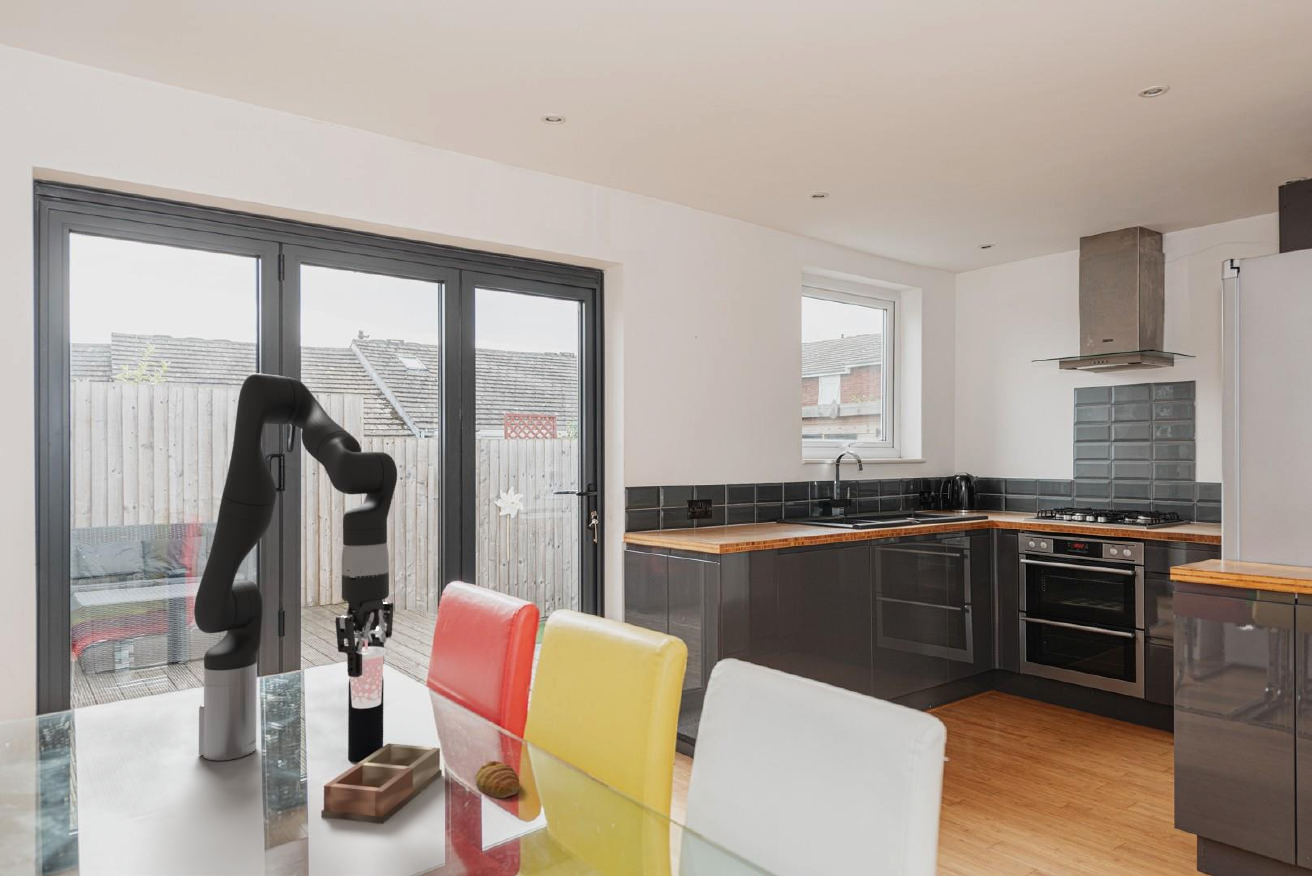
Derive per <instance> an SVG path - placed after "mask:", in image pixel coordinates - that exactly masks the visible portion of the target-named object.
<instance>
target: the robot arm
mask: <svg viewBox="0 0 1312 876" xmlns="http://www.w3.org/2000/svg"><path fill="white" fill-rule="evenodd" d="M265 424H268V425H269V424H270V425H281V426H282V425H292V426H295V427H297V428H299V429H300V430H301V442H302V445H303V446H304V448H305V450H306V451H307V453H308V454H309V455H311V457H313V458H314V459H315V460H316V461H317V462H319V463H320V465H322V466H323V467H324V470H325V472H326V474H327V476H328V478H329V480H330V483H331V485H332V486H333V488H334V489H335V490H337V491H338V492H340V493H342V494H346V495H365V497H364V498H365V499H364V501H363V502H362V505H359V506H358V507H355V508H352V509H348V510H347V511H346V512H345V513H344V514H343V519H342V543H343V544H342V553H341V599H342V600H343V601H344V602H346V603H347V604H348V606H347V612H346V614H345V615H342V616H340V615H337V616H336V617H335V619H334V620H335V632H336V644H337V651H338V653H344V654H346V656H347V662H346V664H347V676H348V677H349V678H350V677H359V676H361V675H362V653H361V652H362V648H363V643H364V641H365V640H367V638H368V636H369V639H370V642H371V643H373V644H370V647H371V646H374V647H384V648H385V644H387V640H388V639H387V638H392V635H393V624H394V623H393V621H394V603H393V602H387V601H386V602H383V600H385V599H387V598H388V597H390V557H389V555H390V553H389V549H388V516H389V513H390V508H391V504H392V501H393V496H394V494H395V493H394V492H395V490H396V485H397V480H398V468H397V464H396V463H395V460H394V459H393V457H391V455H390V454H388V453H387V452H383V451H382V452H381V451H370V452H369V451H363V452H362V447H361V444H360V442H359V441H358V440H357V439H356V438H355V437H354V436H353V435H351V434H350V432H349V431H347V430H345V429H344V428H343V427H342V426H340V424H338V423H337V422H336V421H334V419H332V418H331V417H330V416H329V414H328V413H327V412H326V410H325V409H324V407H323V406H322V405H321V404H320V402H318V400H317V399H316V397H315V396H314V395H313V394H312V392H311V391H310V390H309V388H308V387H307V386H306V385H305V384H304V383H303V382H302V381H300V380H299V379H297V378H294V377H290V376H283V375H277V374H268V373H258V372H257V373H254V372H253V373H251V374H249V375H247V377H246V378H245V379H244V381H243V383H242V385H241V388H240V391H239V395H238V401H237V408H236V418H235V425H234V433H233V437H234V438H233V443H232V450H231V454H230V460H229V466H228V469H227V474H226V479H225V482H224V486H223V487H224V488H223V492H222V495H221V500H220V505H219V510H218V516H217V522H216V526H215V531H214V535H213V539H212V544H211V549H210V552H209V556H208V558H207V562H206V565H205V569H204V571H203V574H202V577H201V581H200V583H199V585H198V589H197V593H196V597H195V601H194V606H193V607H194V611H193V613H194V614H193V615H194V620H195V621H194V622H195V624H196V626H197V628H198V629H199V630H200V631H201V632H203V633H205V634H217V633H223V632H226V634H225V636H224V637H223V638H222V639H221V640H220V641H219V642H218V643H216V644H215V645H213V646H212V647H211V648H209V649H208V650H207V651H206V652H205V654H204V658H203V704H201V705H200V706H199V708H198V756H199V755H203V756H202V758H204V759H205V760H209V761H218V762H219V761H220V762H221V761H229V760H230V761H231V760H235V759H240V758H242V757H245V755H246V756H248V755H250V753H251V754H252V753H254V752H255V751H256V750H255V749H257V704H258V703H257V696H258V695H257V694H258V693H257V690H258V689H257V688H258V687H257V684H258V676H257V672H258V670H257V668H258V667H257V665H258V662H257V661H258V652H259V650H260V647H261V643H262V642H261V641H262V627H263V609H264V608H263V607H264V606H263V597H262V594H261V593H262V592H261V590H260V588H259V586H258V585H257V584H256V583H255V582H253V581H251V580H248V579H246V580H245V579H242V580H236V581H235V579H236V576H237V572H238V571H239V568H240V567H241V565H242V563H243V561H244V560H245V558H247V556H248V555H249V553H250V552H251V551H252V550H253V549H254V548H255V547H256V546H257V544H258V543H259V541H260V540H261V539H262V537H263V536H264V534H265V533H266V531H267V530H268V528H269V527H270V525H271V521H272V518H273V513H274V510H275V503H276V501H277V500H276V499H277V486H276V483H275V480H274V478H273V475H272V473H271V471H270V468H269V467H268V465H267V463H266V460H265V457H264V454H263V449H262V438H263V437H262V436H263V430H264V426H265ZM358 633H360V634H358ZM345 640H346V641H345ZM356 642H357V645H356ZM384 665H385V658H384V659H383V666H384ZM253 751H254V752H253Z"/></svg>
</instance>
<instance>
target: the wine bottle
mask: <svg viewBox="0 0 1312 876" xmlns="http://www.w3.org/2000/svg"><path fill="white" fill-rule="evenodd" d="M357 634H360V633H357ZM370 644H373V643H371V642H370V639H369V636H368V647H370ZM356 645H357V641H355V646H356ZM363 647H365V641H364V643H363ZM384 680H385V679H384V676H383V677H382V695H381V704H380V705H378V706H375V707H371V708H362V709H361V708H354V707H352V699H351V684H350V678H349V680H348V705H347V707H348V710H347V711H348V712H347V713H348V715H347V716H348V718H347V719H348V720H347V722H348V725H347V727H348V728H347V729H348V731H347V732H348V734H347V759H348V761H349V762H351V763H355V764H358V763H359V762H361V761H362V760H364V759H365V758H367V757H368V756H370V755H371V754H373V753H374V752H376V751H377V750H379V749H380V748H382V747H383V746H384V682H385V681H384Z"/></svg>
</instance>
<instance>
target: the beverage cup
mask: <svg viewBox="0 0 1312 876" xmlns="http://www.w3.org/2000/svg"><path fill="white" fill-rule="evenodd" d="M361 653H362V675H361V676H359V677H349V679H350V684H351V699H352V707H354V708H361V709H362V708H371V707H375V706H378V705H380V704H381V695H382V677H383V678H384V675H383V674H384V665H383V659H384V660H385V655H386V648H385V646H384V647H374V646H371V647H368V638H367V640H365V647H363V648H362V652H361Z"/></svg>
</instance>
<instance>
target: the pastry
mask: <svg viewBox="0 0 1312 876" xmlns="http://www.w3.org/2000/svg"><path fill="white" fill-rule="evenodd" d="M475 785H476V786H477V788H478V789H479V790H480V792H482V793H485V794H486V795H489V794H490V795H489V796H491V795H492V797H493V796H494V798H500V799H504V798H507V797H510V796H513V795H516V793H517V794H518V792H519V790H520V780H519V778H518V775H517V772H516V771H515V770H514V768H513V767H512V766H511V765H510V764H507V763H502V762H501V761H498V760H491V761H488V762H486V763H485V764H483V765H481V767H479V769H478V771H477V772H476V774H475Z"/></svg>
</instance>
